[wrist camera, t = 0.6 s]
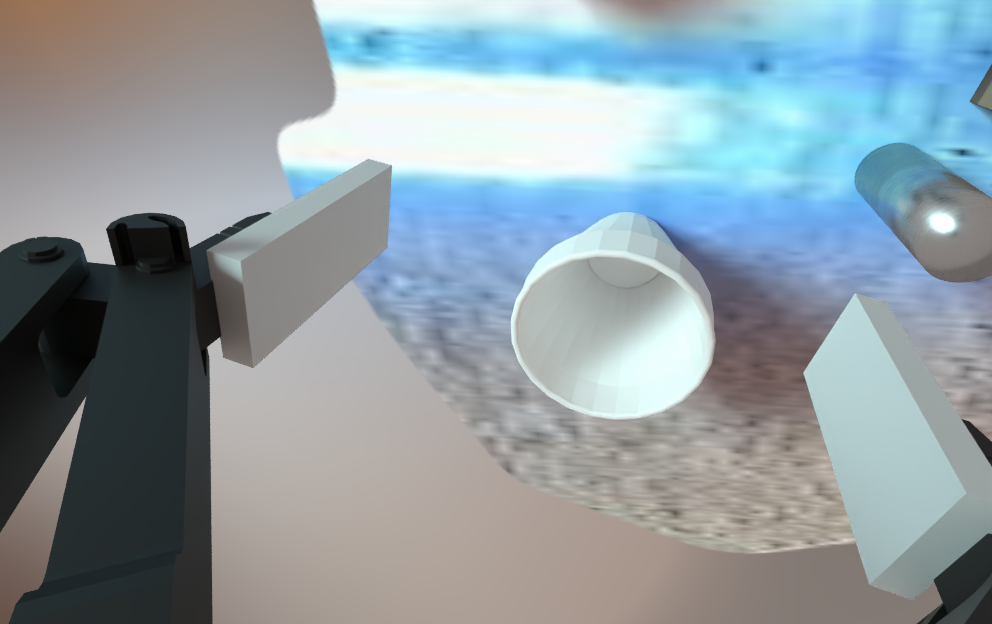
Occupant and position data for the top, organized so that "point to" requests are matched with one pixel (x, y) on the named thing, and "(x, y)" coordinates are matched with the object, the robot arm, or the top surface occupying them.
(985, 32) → the top surface
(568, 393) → the cup
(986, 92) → the bore block
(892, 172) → the pin
